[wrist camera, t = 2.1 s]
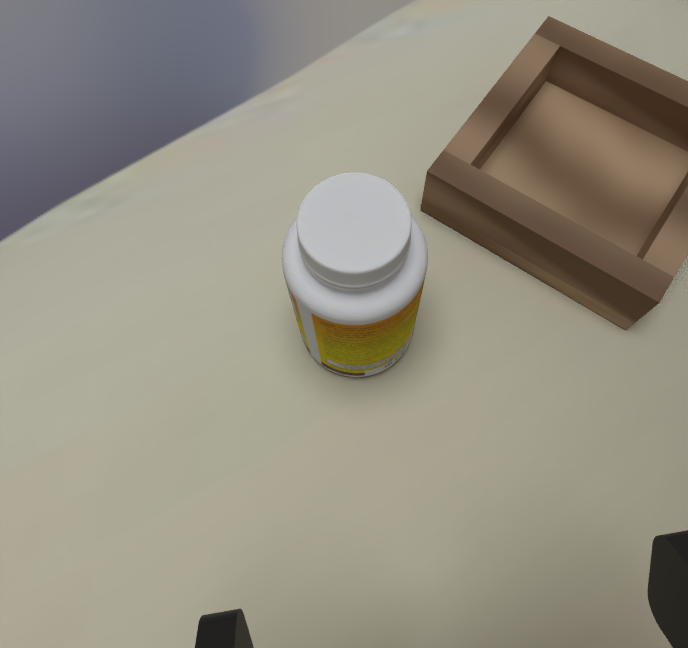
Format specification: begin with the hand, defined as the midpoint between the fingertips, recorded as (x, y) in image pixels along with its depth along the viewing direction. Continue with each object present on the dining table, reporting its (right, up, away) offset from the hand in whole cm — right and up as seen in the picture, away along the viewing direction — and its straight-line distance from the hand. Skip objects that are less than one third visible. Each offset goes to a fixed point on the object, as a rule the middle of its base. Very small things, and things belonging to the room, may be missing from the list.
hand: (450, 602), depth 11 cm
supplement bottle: (-1, +5, +18) cm, 19 cm away
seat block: (+10, +13, +21) cm, 26 cm away
